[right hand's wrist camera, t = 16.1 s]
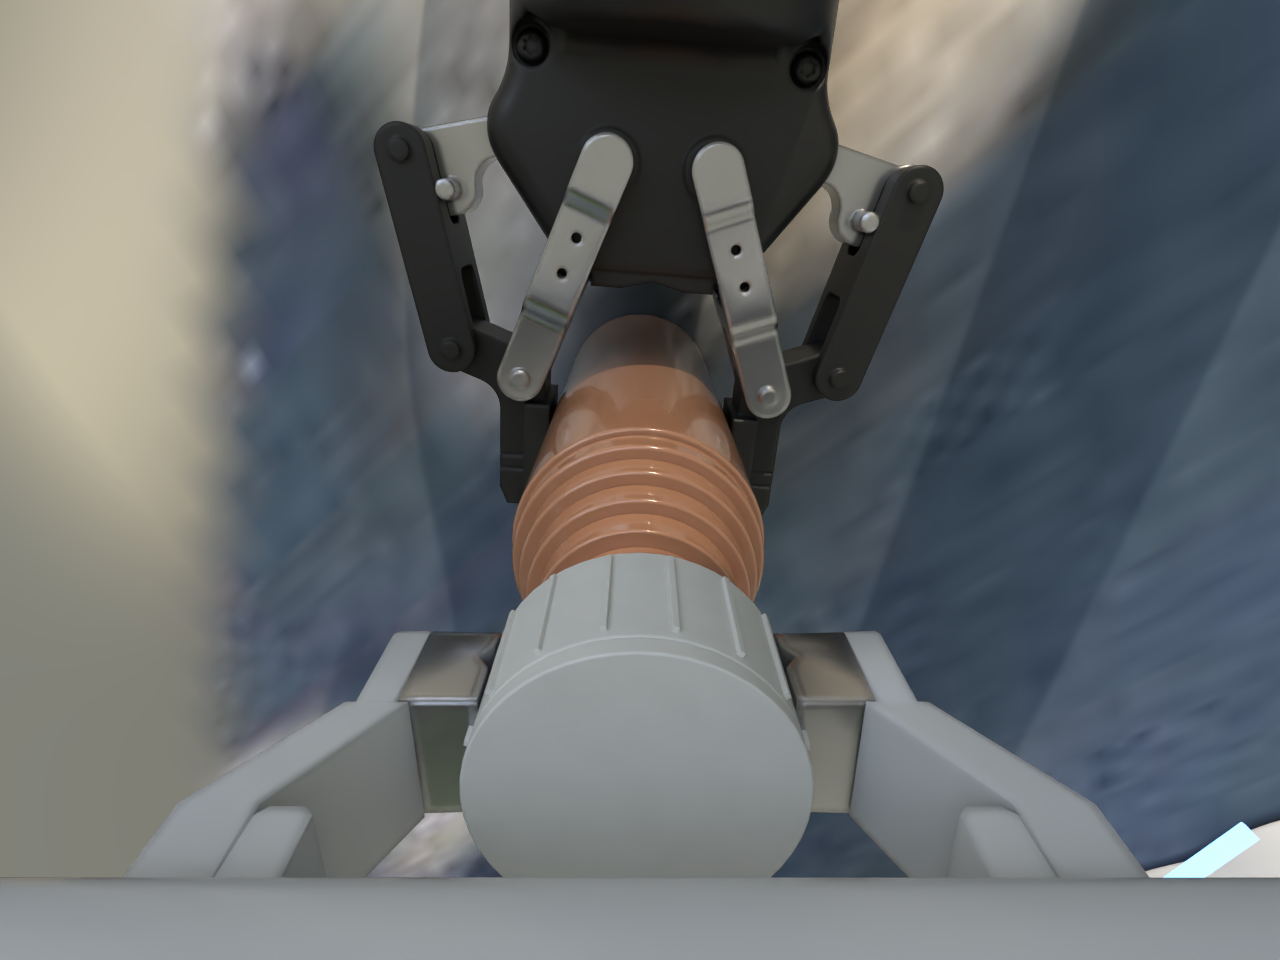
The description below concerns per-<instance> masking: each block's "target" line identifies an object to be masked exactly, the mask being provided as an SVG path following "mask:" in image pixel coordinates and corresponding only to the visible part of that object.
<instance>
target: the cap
mask: <svg viewBox="0 0 1280 960" xmlns="http://www.w3.org/2000/svg"><path fill="white" fill-rule="evenodd" d="M463 745H464V746H467V748H466V751H465V754H464V757H463V761H462V767H461V773H460V800H461V806H462V811H463V816H464V819H465V822H466V824H467V827H468V830H469V833H470V834H471V836H472V838H473V840H474V842H475V844H476V845H477V847H478V849H479V850H480V852H481V853H482V854H483V856H484V857H485V858H486V860H487V861H488V862H489V863H490V864H491V866H492V867H493V868H494V869H495V870H496V871H497V872H498V873H499V874H500V875H501V876H502V877H576V878H770V877H771V876H772V875H773V874H774V873H775V872H776V871H778V870H779V869H780V868H781V867H782V865H783V864H784V863H785V862H786V860H787V859H788V858H789V857H790V855H791V854H792V853H793V851H794V850H795V848H796V846H797V845H798V843H799V841H800V840H801V838H802V836H803V833H804V831H805V829H806V826H807V824H808V821H809V817H810V813H811V808H812V804H813V794H814V779H813V770H812V764H811V761H810V757H809V754H808V751H809V750H811V747H810V743H809V739H808V736H807V733H806V730H801V727H800V724H799V721H798V717H797V714H796V711H795V707H794V704H793V700H792V697H791V693H790V690H789V687H788V683H787V680H786V676H785V673H784V670H783V666H782V663H781V660H780V656H779V653H778V650H777V646H776V643H775V640H774V636H773V633H772V630H771V626H770V623H769V620H768V617H767V615H766V614H765V613H764V614H761V612H760V611H759V609H758V608H757V607H756V605H755V604H754V603H753V602H752V601H751V600H750V599H749V598H748V597H747V596H746V594H745V593H743V592H742V591H741V590H740V589H739V588H737V587H736V586H735V585H734V584H733V583H731V582H730V581H729V579H728V578H727V577H725V576H724V577H722V576H720V575H719V574H717V573H716V572H714V571H712V570H709V569H707V568H705V567H703V566H701V565H699V564H696V563H693V562H690V561H687V560H684V559H681V558H677V557H674V556H669V555H668V556H666V555H661V554H650V553H622V554H614V555H606V556H602V557H598V558H594V559H591V560H588V561H584V562H581V563H579V564H576V565H574V566H572V567H569V568H567V569H565V570H563V571H561V572H559V573H558V574H556V575H555V574H553V575H551V576H550V577H549V579H547V580H546V581H545V582H543V583H542V584H541V585H540V586H538V587H537V588H536V589H534V590H533V591H532V592H531V593H530V594H529V595H528V596H527V597H526V598H525V599H524V600H523V601H522V602H521V604H520V605H519V606H518V608H517V609H516V610H515V611H514V610H512V611H511V612H510V613H509V616H508V619H507V623H506V626H505V629H504V631H503V634H502V637H501V640H500V643H499V646H498V649H497V653H496V656H495V659H494V662H493V665H492V668H491V671H490V674H489V676H488V681H487V685H486V688H485V691H484V694H483V697H482V701H481V704H480V707H479V710H478V713H477V716H476V719H475V722H474V725H473V726H469V727H468V730H467V733H466V736H465V739H464V744H463Z"/></svg>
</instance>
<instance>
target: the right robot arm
mask: <svg viewBox="0 0 1280 960" xmlns="http://www.w3.org/2000/svg"><path fill="white" fill-rule="evenodd" d="M773 636H774V640H775V643H776V646H777V650H778V653H779V656H780V660H781V663H782V666H783V670H784V673H785V676H786V680H787V683H788V687H789V690H790V693H791V697H792V700H793V704H794V707H795V711H796V714H797V717H798V721H799V724H800V727H801V730H806V733H807V736H808V739H809V743H810V747H811V750H809V751H808V754H809V757H810V761H811V764H812V770H813V779H814V794H813V804H812V808H811V812H831V813H850V815H849V816H850V817H851V818H852V819H853V820H854V821H855V822H856V823H857V824H858V825H859V827H860V828H861V829H862V830H863V831H864V832H865V833H866V834H867V835H868V836H869V837H870V838H871V839H872V840H873V841H874V842H875V843H876V844H877V845H878V846H879V847H880V848H881V849H882V850H883V851H884V852H885V854H886V855H887V856H888V857H889V858H890V859H891V860H892V861H893V862H894V863H895V864H896V865H897V866H898V867H899V868H900V869H901V870H902V871H903V872H904V873H905V874H906V875H907V876H908V877H909V878H576V877H420V878H365V877H366V876H367V875H368V874H369V873H370V872H371V871H372V870H373V869H374V868H375V867H376V866H377V865H378V864H379V863H380V862H381V861H382V860H383V859H384V858H385V857H386V856H387V855H388V854H389V853H390V852H391V851H392V850H393V849H394V848H395V846H396V845H397V844H398V843H399V842H400V841H401V840H402V839H403V838H404V837H405V836H406V835H407V834H408V833H409V832H410V831H411V830H412V829H413V828H414V827H415V826H416V825H417V824H418V823H419V822H420V821H421V820H422V819H423V818H424V817H425V816H424V813H442V812H463V811H462V806H461V800H460V773H461V767H462V761H463V757H464V754H465V751H466V748H467V746H464V745H463V744H464V739H465V736H466V733H467V730H468V727H469V726H473V725H474V722H475V719H476V716H477V713H478V710H479V707H480V704H481V701H482V697H483V694H484V691H485V688H486V685H487V681H488V676H489V674H490V671H491V668H492V665H493V662H494V659H495V656H496V653H497V649H498V646H499V643H500V640H501V637H502V634H501V633H487V632H438V631H434V632H431V631H400V632H398V633H396V634H394V635H393V636H392V638H391V640H390V642H389V643H388V645H387V647H386V649H385V650H384V652H383V654H382V656H381V658H380V659H379V661H378V663H377V665H376V667H375V668H374V670H373V672H372V674H371V675H370V677H369V679H368V681H367V683H366V684H365V686H364V688H363V690H362V692H361V693H360V695H359V697H358V699H357V700H356V702H344V703H342V704H341V705H339V706H338V707H336V708H334V709H333V710H331V711H329V712H328V713H326V714H324V715H323V716H321V717H319V718H318V719H316V720H314V721H313V722H311V723H309V724H308V725H306V726H304V727H303V728H301V729H300V730H298V731H296V732H295V733H293V734H291V735H290V736H288V737H286V738H285V739H283V740H281V741H280V742H278V743H276V744H275V745H273V746H271V747H270V748H268V749H266V750H265V751H263V752H262V753H260V754H258V755H257V756H255V757H253V758H252V759H250V760H248V761H247V762H245V763H243V764H242V765H240V766H238V767H237V768H235V769H233V770H232V771H230V772H228V773H227V774H225V775H224V776H222V777H220V778H219V779H217V780H215V781H214V782H212V783H210V784H209V785H207V786H205V787H204V788H202V789H200V790H199V791H197V792H195V793H194V794H192V795H190V796H189V797H187V798H186V799H184V800H182V801H181V802H179V803H178V804H177V805H176V806H175V808H174V809H173V810H172V812H171V813H170V814H169V816H168V817H167V818H166V820H165V821H164V822H163V824H162V825H161V826H160V828H159V829H158V830H157V831H156V833H155V834H154V835H153V837H152V838H151V839H150V841H149V842H148V843H147V845H146V846H145V847H144V849H143V850H142V851H141V853H140V854H139V855H138V857H137V858H136V859H135V860H134V862H133V863H132V865H131V866H130V867H129V868H128V870H127V871H126V872H125V874H124V875H123V876H122V877H0V960H1280V821H1276V822H1272V823H1269V824H1266V825H1263V826H1260V827H1257V828H1255V829H1252V830H1250V829H1249V828H1248V827H1247V826H1246V825H1245V824H1244V823H1242V822H1240V823H1239V824H1238V825H1236V826H1235V827H1233V828H1232V829H1231V830H1229V831H1228V832H1226V833H1225V834H1224V835H1222V836H1221V837H1219V838H1218V839H1217V840H1215V841H1214V842H1212V843H1211V844H1209V845H1208V846H1207V847H1205V848H1204V849H1202V850H1201V851H1200V852H1198V853H1197V854H1195V855H1194V856H1193V857H1191V858H1190V859H1188V860H1187V861H1185V862H1181V863H1176V864H1172V865H1168V866H1164V867H1159V868H1155V869H1152V870H1148V871H1145V870H1144V869H1143V868H1142V866H1141V865H1140V864H1139V862H1138V861H1137V860H1136V858H1135V857H1134V856H1133V854H1132V853H1131V852H1130V850H1129V849H1128V847H1127V846H1126V845H1125V843H1124V842H1123V841H1122V839H1121V838H1120V837H1119V835H1118V834H1117V833H1116V831H1115V830H1114V829H1113V827H1112V826H1111V825H1110V823H1109V822H1108V820H1107V819H1106V818H1105V816H1104V815H1103V814H1102V812H1101V811H1100V810H1099V808H1098V807H1097V806H1096V804H1094V803H1093V802H1091V801H1089V800H1088V799H1086V798H1085V797H1083V796H1081V795H1080V794H1078V793H1076V792H1075V791H1073V790H1072V789H1070V788H1068V787H1067V786H1065V785H1063V784H1062V783H1060V782H1058V781H1057V780H1055V779H1054V778H1052V777H1050V776H1049V775H1047V774H1045V773H1044V772H1042V771H1041V770H1039V769H1037V768H1036V767H1034V766H1032V765H1031V764H1029V763H1027V762H1026V761H1024V760H1023V759H1021V758H1019V757H1018V756H1016V755H1014V754H1013V753H1011V752H1009V751H1008V750H1006V749H1005V748H1003V747H1001V746H1000V745H998V744H996V743H995V742H993V741H992V740H990V739H988V738H987V737H985V736H983V735H982V734H980V733H978V732H977V731H975V730H974V729H972V728H970V727H969V726H967V725H965V724H964V723H962V722H961V721H959V720H957V719H956V718H954V717H952V716H951V715H949V714H947V713H946V712H944V711H943V710H941V709H939V708H938V707H936V706H934V705H933V704H931V703H930V702H918V701H917V699H916V697H915V696H914V694H913V692H912V690H911V688H910V687H909V685H908V683H907V681H906V679H905V678H904V676H903V674H902V672H901V670H900V669H899V667H898V665H897V663H896V661H895V660H894V658H893V656H892V654H891V652H890V651H889V649H888V647H887V645H886V643H885V642H884V640H883V638H882V636H881V634H879V633H878V632H876V631H854V632H839V633H788V634H773Z"/></svg>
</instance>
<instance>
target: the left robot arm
mask: <svg viewBox="0 0 1280 960" xmlns="http://www.w3.org/2000/svg"><path fill="white" fill-rule="evenodd" d="M838 3H839V0H510V39H509V56H508V63H507V67H506V71H505V74H504V77H503V80H502V82H501V85H500V87H499V89H498V91H497V93H496V94H495V96H494V98H493V100H492V102H491V105H490V108H489V111H488V116H485V117H479V118H474V119H468V120H462V121H457V122H451V123H446V124H440V125H435V126H429V127H423V128H422V127H419V126H415V125H412V124H408V123H405V122H400V121H392V122H389V123H386V124H385V125H383V126H382V127H381V128H380V129H379V130H378V132H377V134H376V136H375V139H374V152H375V157H376V160H377V164H378V168H379V171H380V175H381V179H382V182H383V186H384V190H385V194H386V197H387V201H388V205H389V208H390V212H391V216H392V220H393V223H394V227H395V231H396V234H397V238H398V242H399V246H400V249H401V253H402V257H403V260H404V264H405V268H406V271H407V275H408V279H409V283H410V286H411V290H412V294H413V297H414V301H415V305H416V309H417V312H418V316H419V320H420V323H421V327H422V331H423V334H424V338H425V342H426V346H427V349H428V353H429V356H430V358H431V360H432V361H433V362H434V364H435V365H436V366H438V367H439V368H440V369H442V370H445V371H448V372H458V371H462V372H464V373H467V374H469V375H471V376H474V377H476V378H478V379H481V380H483V381H485V382H486V383H488V384H489V385H490V386H491V387H492V388H493V389H494V390H495V392H496V393H497V395H498V398H499V401H500V452H501V455H500V465H501V468H500V486H501V489H502V491H503V494H504V496H505V498H506V501H507V502H508V503H519V502H520V499H521V497H522V494H523V492H524V489H525V486H526V484H527V481H528V479H529V476H530V474H531V471H532V469H533V466H534V463H535V461H536V458H537V456H538V453H539V451H540V448H541V446H542V443H543V440H544V438H545V435H546V433H547V430H548V428H549V425H550V422H551V420H552V417H553V415H554V412H555V410H556V407H557V405H558V385H552V384H551V368H552V365H553V363H554V361H555V358H556V356H557V354H558V351H559V349H560V347H561V344H562V342H563V339H564V337H565V335H566V332H567V330H568V328H569V325H570V323H571V320H572V318H573V316H574V313H575V311H576V309H577V307H578V304H579V302H580V300H581V297H582V295H583V293H584V290H585V288H586V286H587V283H588V281H591V286H605V287H618V288H622V287H627V286H632V285H638V284H643V283H648V282H655V283H658V284H661V285H664V286H667V287H670V288H672V289H675V290H678V291H681V292H684V293H698V294H711V295H713V298H714V302H715V306H716V310H717V313H718V317H719V320H720V323H721V326H722V330H723V334H724V338H725V342H726V346H727V350H728V354H729V358H730V361H731V365H732V369H733V373H734V377H735V382H734V390H733V398H724V406H723V413H724V415H725V418H726V420H727V423H728V426H729V428H730V431H731V434H732V436H733V439H734V442H735V444H736V447H737V450H738V452H739V455H740V458H741V460H742V463H743V466H744V468H745V471H746V474H747V476H748V479H749V482H750V484H751V487H752V490H753V492H754V495H755V498H756V500H757V503H758V506H759V508H760V511H761V515H762V514H763V513H764V511H765V509H766V508H767V506H768V504H769V497H770V490H771V484H772V477H773V471H774V464H775V457H776V451H777V444H778V438H779V431H780V426H781V423H782V420H783V418H784V417H785V415H786V414H787V413H788V412H789V411H790V410H791V409H792V408H794V407H796V406H797V405H800V404H803V403H806V402H810V401H814V400H817V399H821V398H827V399H829V400H833V401H840V400H844V399H847V398H849V397H851V396H852V395H853V394H854V393H855V392H856V391H857V390H858V388H859V386H860V384H861V382H862V380H863V378H864V375H865V373H866V371H867V368H868V366H869V364H870V361H871V359H872V357H873V355H874V352H875V350H876V348H877V345H878V343H879V341H880V339H881V336H882V334H883V332H884V329H885V327H886V325H887V323H888V320H889V318H890V316H891V313H892V311H893V309H894V307H895V304H896V302H897V300H898V297H899V295H900V293H901V291H902V288H903V286H904V284H905V281H906V279H907V277H908V275H909V272H910V270H911V268H912V265H913V263H914V261H915V259H916V256H917V254H918V252H919V249H920V247H921V245H922V243H923V240H924V238H925V236H926V233H927V231H928V229H929V227H930V224H931V222H932V220H933V217H934V215H935V213H936V211H937V208H938V206H939V204H940V201H941V199H942V196H943V188H944V187H943V181H942V178H941V176H940V174H939V173H938V172H937V171H936V170H935V169H934V168H932V167H930V166H926V165H900V166H897V165H894V164H892V163H889V162H886V161H883V160H880V159H878V158H875V157H872V156H869V155H866V154H863V153H861V152H858V151H855V150H852V149H849V148H847V147H844V146H841V145H838V134H837V129H836V126H835V123H834V121H833V118H832V115H831V111H830V107H829V102H828V94H827V78H828V70H829V64H830V57H831V50H832V43H833V37H834V30H835V23H836V17H837V10H838ZM495 160H498V161H499V163H500V164H501V166H502V167H503V169H504V171H505V172H506V174H507V175H508V177H509V179H510V180H511V182H512V183H513V185H514V186H515V188H516V190H517V191H518V193H519V194H520V196H521V197H522V199H523V201H524V202H525V204H526V205H527V207H528V208H529V210H530V212H531V213H532V215H533V216H534V218H535V220H536V221H537V223H538V224H539V226H540V227H541V229H542V231H543V232H544V234H545V235H546V237H547V238H548V240H547V243H546V246H545V248H544V251H543V253H542V256H541V258H540V261H539V263H538V266H537V268H536V271H535V273H534V276H533V279H532V281H531V284H530V286H529V289H528V291H527V294H526V296H525V299H524V302H523V306H522V311H521V314H520V316H519V319H518V321H517V324H516V326H515V329H514V331H513V333H512V332H510V331H508V330H506V329H503V328H501V327H499V326H497V325H494V324H492V323H490V320H489V316H488V312H487V308H486V303H485V299H484V295H483V290H482V286H481V282H480V278H479V273H478V269H477V265H476V261H475V256H474V252H473V248H472V243H471V239H470V235H469V231H468V226H467V222H466V218H465V214H466V213H470V212H472V211H473V210H475V209H476V208H477V207H478V206H479V204H480V202H481V200H482V197H483V184H482V181H483V175H484V172H485V170H486V169H487V167H488V166H489V165H490V164H491V163H492V162H493V161H495ZM821 186H822V187H824V188H825V189H826V190H827V192H828V193H829V196H830V198H831V203H832V209H831V214H830V218H829V227H830V230H831V233H832V235H833V236H834V237H835V238H836V239H837V240H838V241H840V242H842V243H843V244H842V246H841V249H840V251H839V254H838V256H837V259H836V261H835V264H834V266H833V269H832V271H831V274H830V276H829V279H828V281H827V284H826V286H825V289H824V291H823V294H822V296H821V299H820V301H819V304H818V306H817V309H816V311H815V314H814V316H813V319H812V321H811V324H810V326H809V329H808V331H807V334H806V336H805V339H804V342H803V344H802V346H800V347H796V348H792V349H789V350H785V351H782V349H781V345H780V340H779V336H778V330H777V327H778V321H777V315H776V310H775V305H774V301H773V296H772V292H771V287H770V283H769V278H768V274H767V269H766V265H765V260H764V256H763V253H764V252H765V251H766V250H767V248H768V247H769V246H770V245H771V244H772V243H773V242H774V240H775V239H776V238H777V237H778V236H779V235H780V233H781V232H782V231H783V230H784V229H785V228H786V227H787V225H788V224H789V223H790V222H791V221H792V220H793V218H794V217H795V216H796V215H797V214H798V213H799V212H800V210H801V209H802V208H803V207H804V206H805V205H806V204H807V202H808V201H809V200H810V199H811V198H812V197H813V195H814V194H815V193H816V192H817V191H818V190H819V189H820V187H821Z"/></svg>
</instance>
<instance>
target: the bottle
mask: <svg viewBox="0 0 1280 960" xmlns="http://www.w3.org/2000/svg"><path fill="white" fill-rule="evenodd" d="M764 544H765V537H764V525H763V520H762V515H761V511H760V508H759V506H758V503H757V500H756V498H755V495H754V492H753V490H752V487H751V484H750V482H749V479H748V476H747V474H746V471H745V468H744V466H743V463H742V460H741V458H740V455H739V452H738V450H737V447H736V444H735V442H734V439H733V436H732V434H731V431H730V428H729V426H728V423H727V420H726V418H725V415H724V413H723V410H722V407H721V405H720V402H719V399H718V397H717V394H716V391H715V389H714V386H713V383H712V381H711V378H710V375H709V373H708V370H707V367H706V365H705V362H704V359H703V357H702V354H701V352H700V350H699V348H698V347H697V345H696V344H695V342H694V341H693V340H692V338H691V337H690V336H689V335H688V334H687V333H686V332H685V331H684V330H682V329H681V328H680V327H678V326H677V325H675V324H673V323H672V322H670V321H668V320H665V319H663V318H660V317H656V316H651V315H640V314H635V315H627V316H623V317H619V318H616V319H614V320H611V321H609V322H607V323H605V324H604V325H602V326H600V327H599V328H598V329H596V330H595V331H594V332H593V333H592V334H591V335H590V336H589V337H588V338H587V339H586V341H585V342H584V343H583V345H582V346H581V348H580V350H579V351H578V354H577V356H576V359H575V361H574V364H573V366H572V369H571V371H570V374H569V376H568V379H567V382H566V384H565V387H564V389H563V392H562V394H561V397H560V399H559V402H558V405H557V407H556V410H555V412H554V415H553V417H552V420H551V422H550V425H549V428H548V430H547V433H546V435H545V438H544V440H543V443H542V446H541V448H540V451H539V453H538V456H537V458H536V461H535V463H534V466H533V469H532V471H531V474H530V476H529V479H528V481H527V484H526V486H525V489H524V492H523V494H522V497H521V499H520V502H519V504H518V507H517V510H516V514H515V518H514V522H513V532H512V548H513V549H512V564H513V572H514V577H515V582H516V585H517V588H518V591H519V594H520V596H521V600H522V601H523V600H524V599H525V598H526V597H527V596H528V595H529V594H530V593H531V592H532V591H533V590H534V589H536V588H537V587H538V586H540V585H541V584H542V583H543V582H545V581H546V580H547V579H549V577H550V576H551V575H553V574H555V575H556V574H558V573H559V572H561V571H563V570H565V569H567V568H569V567H572V566H574V565H576V564H579V563H581V562H584V561H588V560H591V559H594V558H598V557H602V556H606V555H614V554H622V553H650V554H661V555H666V556H668V555H669V556H674V557H677V558H681V559H684V560H687V561H690V562H693V563H696V564H699V565H701V566H703V567H705V568H707V569H709V570H712V571H714V572H716V573H717V574H719V575H720V576H722V577H724V576H725V577H727V578H728V579H729V581H730V582H731V583H733V584H734V585H735V586H736V587H737V588H739V589H740V590H741V591H742V592H743V593H745V594H746V596H747V597H748V598H749V599H750V600H751V601H752V602H753V603H754V600H755V598H756V595H757V592H758V590H759V587H760V584H761V579H762V575H763V569H764Z"/></svg>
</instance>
